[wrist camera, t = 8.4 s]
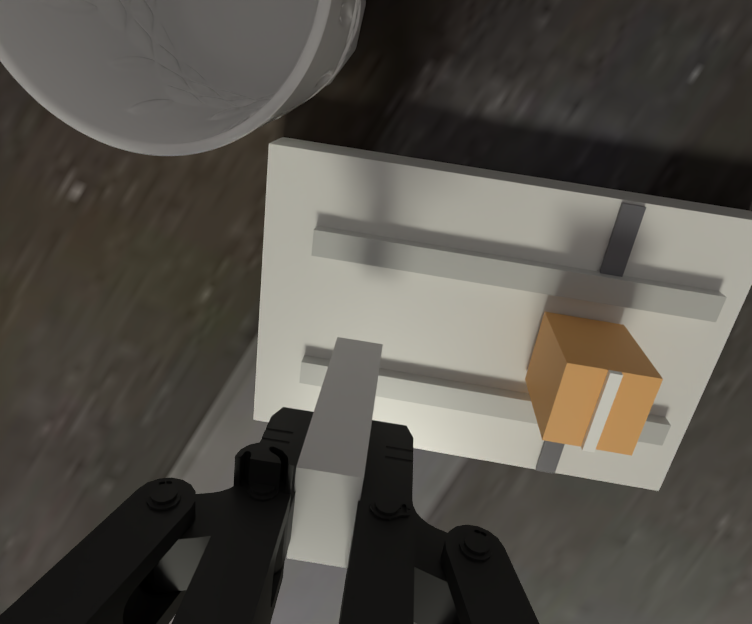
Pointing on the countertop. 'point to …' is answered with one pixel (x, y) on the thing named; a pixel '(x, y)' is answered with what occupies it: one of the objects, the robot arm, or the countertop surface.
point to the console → (486, 296)
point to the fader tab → (590, 384)
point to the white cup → (175, 64)
